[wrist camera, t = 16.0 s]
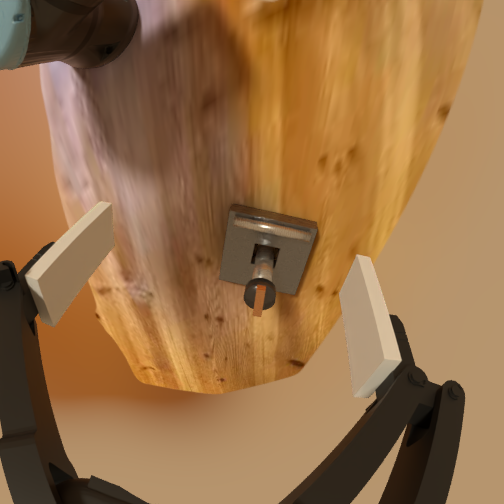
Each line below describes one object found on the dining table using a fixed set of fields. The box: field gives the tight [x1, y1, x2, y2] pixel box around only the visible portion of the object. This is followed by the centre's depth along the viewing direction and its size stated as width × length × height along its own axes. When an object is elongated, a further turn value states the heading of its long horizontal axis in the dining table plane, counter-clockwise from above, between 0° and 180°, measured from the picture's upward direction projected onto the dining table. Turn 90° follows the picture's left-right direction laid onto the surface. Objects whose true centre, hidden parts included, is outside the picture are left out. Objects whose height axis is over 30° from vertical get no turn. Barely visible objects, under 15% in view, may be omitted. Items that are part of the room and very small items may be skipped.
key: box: [244, 244, 276, 317], centre depth 47 cm, size 5×4×14 cm
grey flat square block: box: [219, 204, 318, 295], centre depth 51 cm, size 14×14×4 cm
